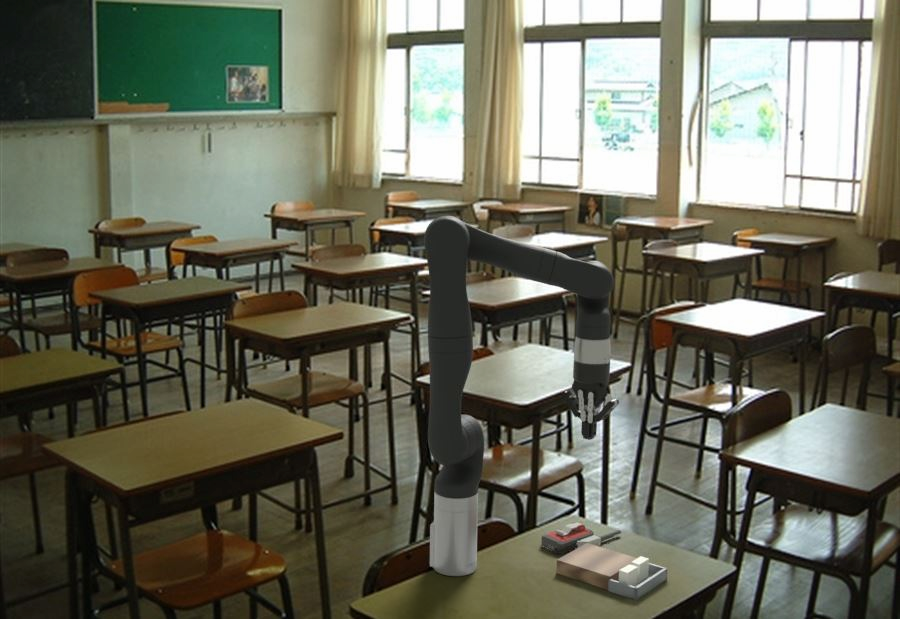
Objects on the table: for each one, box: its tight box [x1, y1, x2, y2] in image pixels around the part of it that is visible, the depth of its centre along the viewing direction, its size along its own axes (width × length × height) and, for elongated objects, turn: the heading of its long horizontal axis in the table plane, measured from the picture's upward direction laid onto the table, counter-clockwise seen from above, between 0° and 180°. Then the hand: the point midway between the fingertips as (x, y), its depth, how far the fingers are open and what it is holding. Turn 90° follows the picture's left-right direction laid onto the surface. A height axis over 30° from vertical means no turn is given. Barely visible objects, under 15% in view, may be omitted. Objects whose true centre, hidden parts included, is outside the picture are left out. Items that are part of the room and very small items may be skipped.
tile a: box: [619, 564, 638, 586], centre depth 233 cm, size 4×4×2 cm
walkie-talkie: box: [541, 521, 622, 555], centre depth 257 cm, size 9×4×20 cm
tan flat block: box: [556, 543, 638, 591], centre depth 241 cm, size 13×12×3 cm
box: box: [607, 562, 668, 601], centre depth 235 cm, size 6×13×2 cm, turn 141°
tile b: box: [631, 555, 650, 583], centre depth 237 cm, size 4×4×2 cm
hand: (588, 438), depth 238 cm, fingers closed
